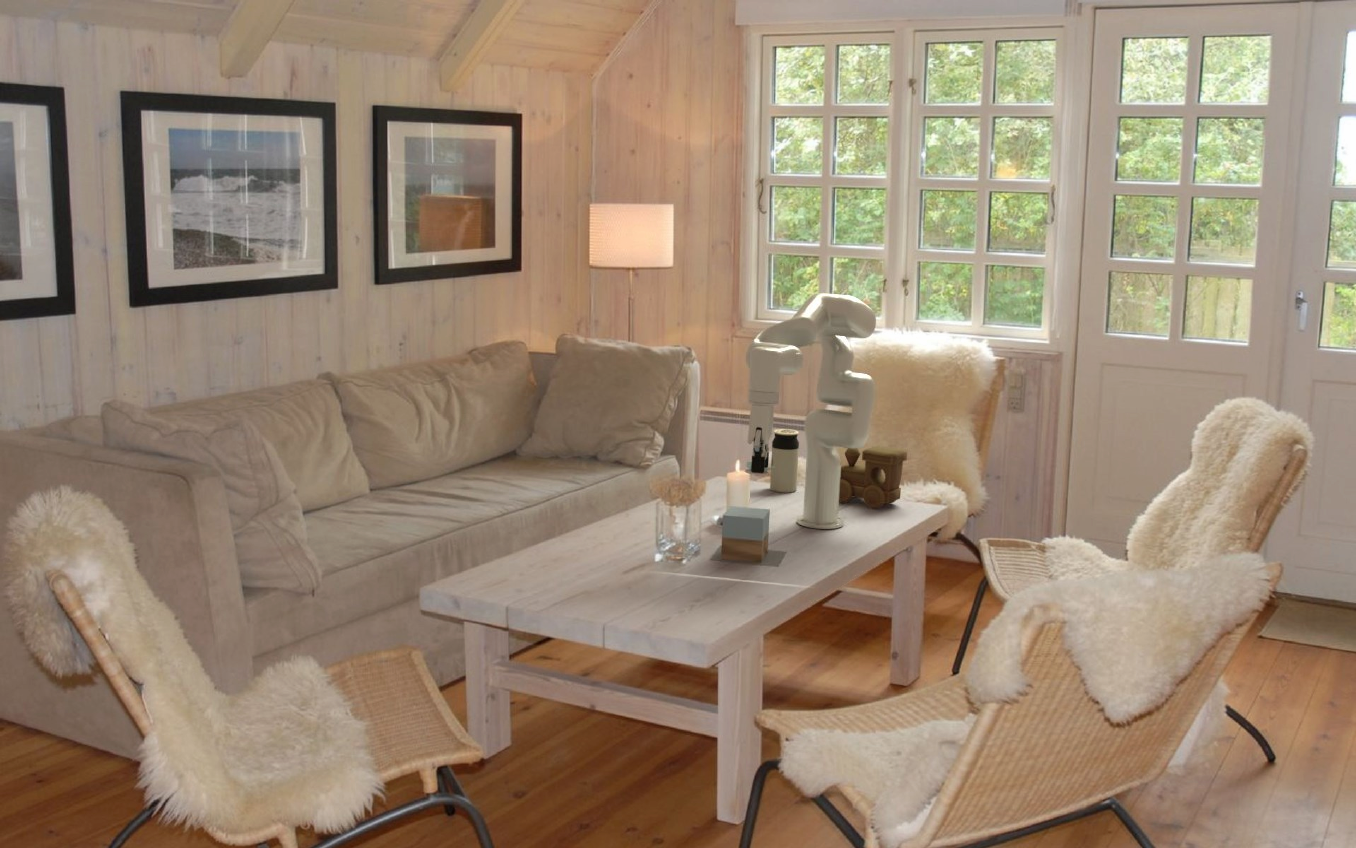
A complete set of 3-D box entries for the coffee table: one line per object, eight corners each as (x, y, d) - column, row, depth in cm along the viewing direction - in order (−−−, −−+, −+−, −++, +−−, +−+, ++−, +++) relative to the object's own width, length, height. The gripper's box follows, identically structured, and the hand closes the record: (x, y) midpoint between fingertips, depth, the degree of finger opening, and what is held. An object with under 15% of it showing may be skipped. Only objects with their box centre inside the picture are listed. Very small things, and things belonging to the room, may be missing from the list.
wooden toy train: (905, 505, 408) (909, 449, 405) (887, 512, 399) (891, 455, 396) (844, 494, 419) (847, 440, 416) (826, 501, 410) (829, 445, 407)
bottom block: (728, 548, 354) (729, 527, 353) (767, 552, 352) (768, 530, 351) (721, 558, 344) (721, 537, 343) (761, 562, 342) (762, 540, 341)
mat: (720, 547, 356) (720, 545, 356) (786, 553, 353) (786, 551, 353) (709, 562, 343) (709, 560, 343) (778, 568, 339) (778, 566, 339)
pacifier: (765, 478, 341) (777, 474, 346) (766, 453, 340) (778, 449, 345) (739, 474, 345) (751, 469, 350) (740, 449, 344) (752, 445, 349)
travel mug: (799, 488, 425) (802, 430, 421) (792, 494, 417) (795, 434, 414) (774, 485, 427) (777, 427, 424) (766, 491, 420) (769, 432, 417)
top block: (729, 527, 353) (730, 506, 352) (768, 530, 351) (769, 509, 350) (721, 537, 343) (722, 515, 342) (762, 540, 341) (763, 518, 340)
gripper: (753, 391, 352) (750, 462, 355) (742, 401, 335) (738, 475, 338) (783, 393, 351) (779, 464, 354) (773, 403, 334) (769, 478, 337)
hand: (759, 469), depth 346 cm, fingers closed on pacifier, 5 cm apart
